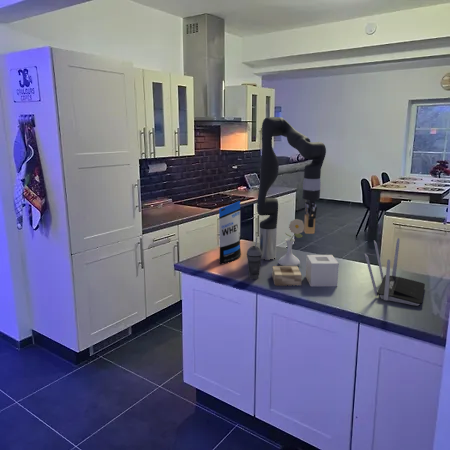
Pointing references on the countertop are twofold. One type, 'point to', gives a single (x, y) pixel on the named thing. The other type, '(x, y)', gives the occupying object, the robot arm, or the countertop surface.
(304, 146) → the robot arm
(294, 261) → the flower in vase
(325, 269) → the white square socket block
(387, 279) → the wireless router
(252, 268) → the beverage cup
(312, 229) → the plug
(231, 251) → the protein powder
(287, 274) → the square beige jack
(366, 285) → the countertop surface
